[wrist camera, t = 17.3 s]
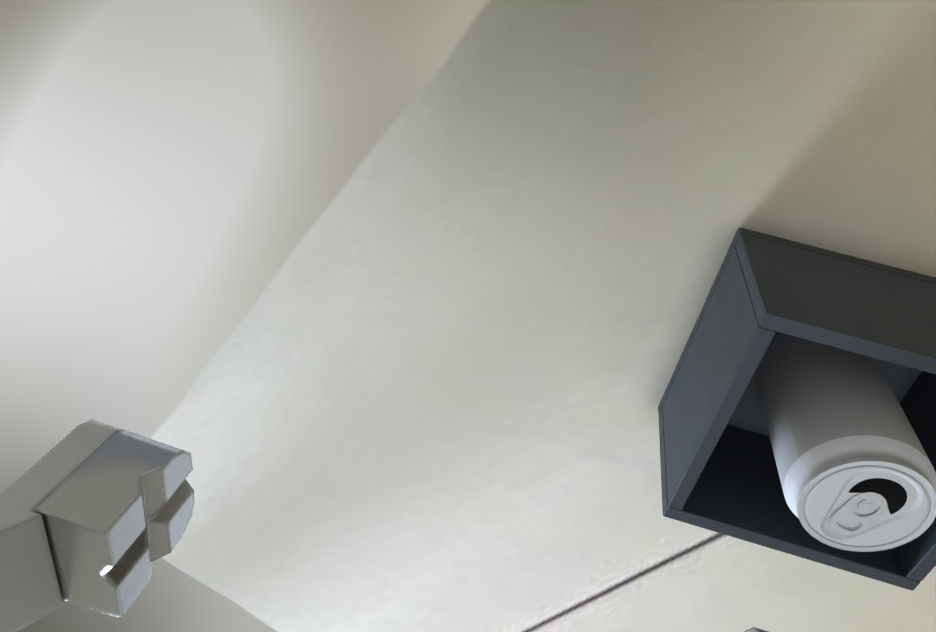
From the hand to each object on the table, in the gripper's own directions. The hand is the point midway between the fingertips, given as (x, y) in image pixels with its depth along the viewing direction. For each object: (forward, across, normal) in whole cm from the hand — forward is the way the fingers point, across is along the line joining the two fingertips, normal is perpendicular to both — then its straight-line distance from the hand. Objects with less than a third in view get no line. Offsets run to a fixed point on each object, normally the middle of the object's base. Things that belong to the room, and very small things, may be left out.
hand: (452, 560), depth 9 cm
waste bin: (+31, -17, +12) cm, 37 cm away
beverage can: (+30, -17, +12) cm, 37 cm away
